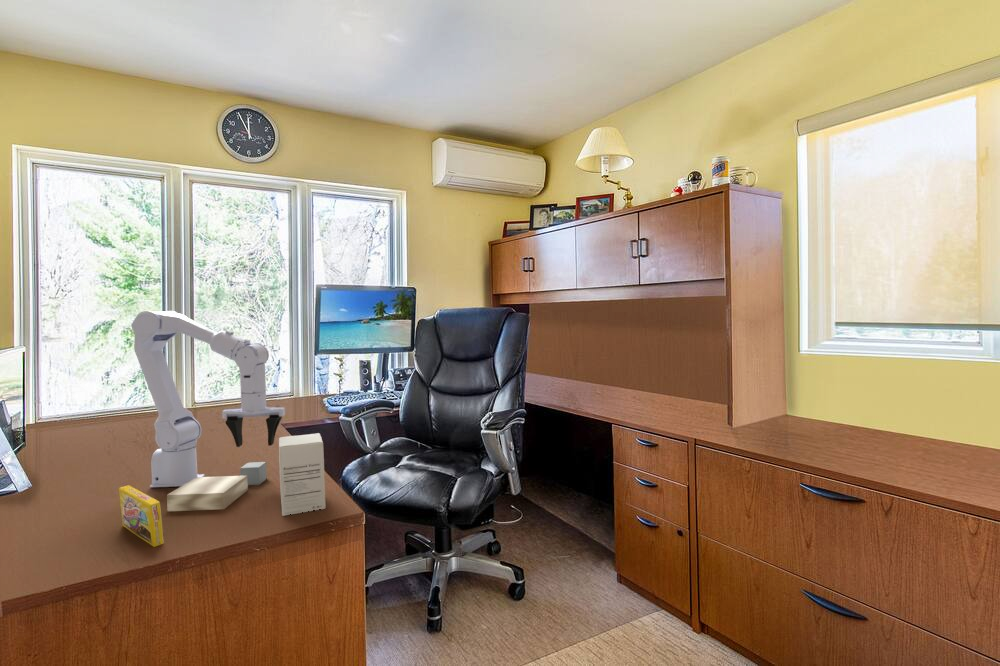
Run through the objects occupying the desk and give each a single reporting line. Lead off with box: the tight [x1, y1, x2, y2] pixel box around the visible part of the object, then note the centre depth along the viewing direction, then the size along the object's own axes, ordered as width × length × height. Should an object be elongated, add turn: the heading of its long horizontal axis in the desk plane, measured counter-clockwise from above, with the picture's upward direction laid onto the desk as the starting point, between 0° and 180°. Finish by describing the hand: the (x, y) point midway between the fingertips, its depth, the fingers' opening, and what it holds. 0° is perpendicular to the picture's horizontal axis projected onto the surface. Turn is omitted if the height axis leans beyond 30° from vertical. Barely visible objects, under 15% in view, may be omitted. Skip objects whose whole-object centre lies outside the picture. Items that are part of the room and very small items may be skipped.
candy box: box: [118, 484, 165, 548], centre depth 100 cm, size 16×2×8 cm, turn 53°
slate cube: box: [239, 461, 268, 486], centre depth 130 cm, size 4×4×4 cm
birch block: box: [166, 475, 249, 512], centre depth 118 cm, size 12×12×4 cm
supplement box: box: [278, 432, 327, 517], centre depth 113 cm, size 9×9×15 cm
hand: (255, 445), depth 130 cm, fingers open, 7 cm apart
